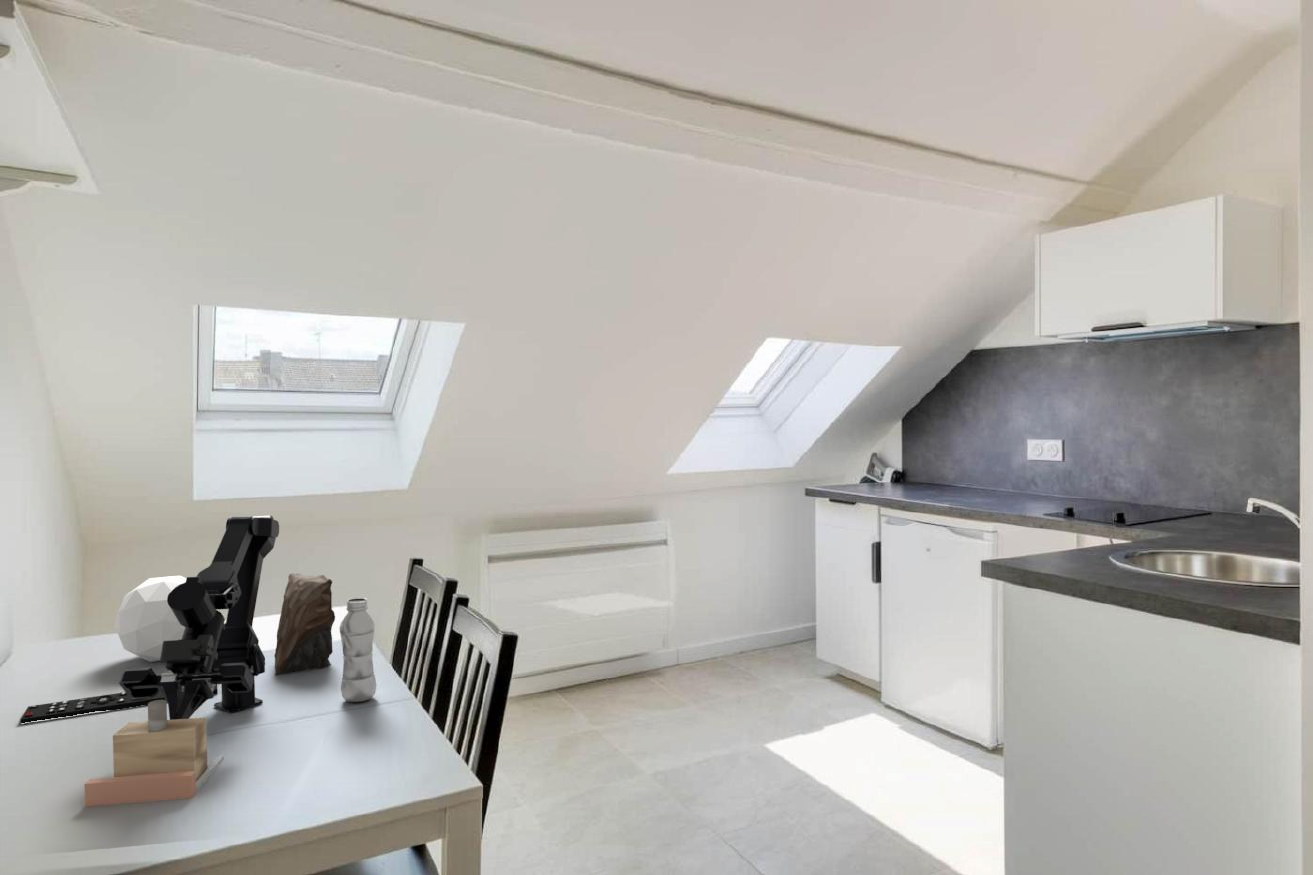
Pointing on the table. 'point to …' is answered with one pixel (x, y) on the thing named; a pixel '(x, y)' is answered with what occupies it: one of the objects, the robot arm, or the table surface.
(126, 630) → the ball
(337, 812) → the table surface
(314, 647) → the brown rock
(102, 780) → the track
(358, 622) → the plastic bottle
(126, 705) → the remote control
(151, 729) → the plate
